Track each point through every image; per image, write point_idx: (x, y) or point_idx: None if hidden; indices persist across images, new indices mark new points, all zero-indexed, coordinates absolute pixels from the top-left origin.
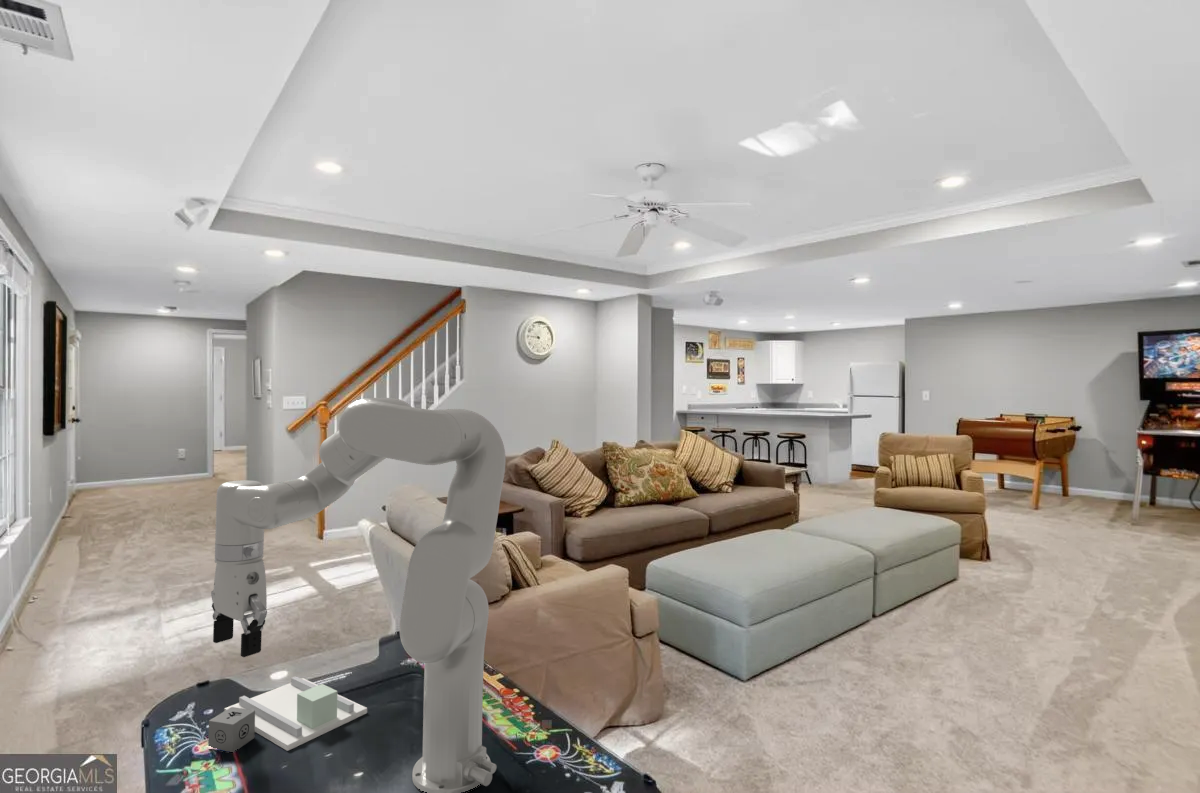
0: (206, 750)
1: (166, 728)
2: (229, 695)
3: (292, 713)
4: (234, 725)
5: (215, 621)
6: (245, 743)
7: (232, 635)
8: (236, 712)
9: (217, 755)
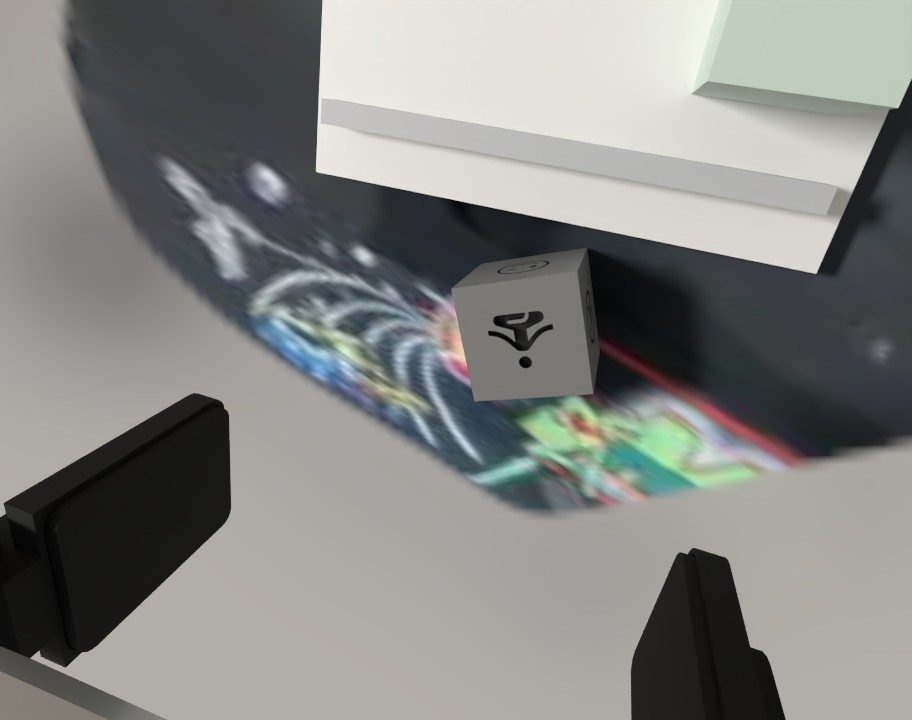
0: None
1: (273, 319)
2: (206, 55)
3: (615, 53)
4: (592, 383)
5: (66, 664)
6: (592, 293)
7: (212, 420)
8: (511, 312)
9: None
